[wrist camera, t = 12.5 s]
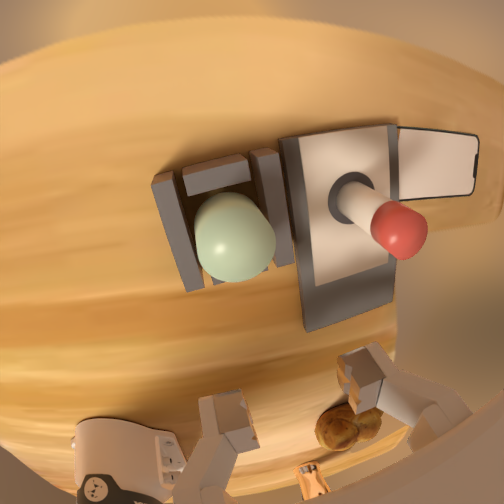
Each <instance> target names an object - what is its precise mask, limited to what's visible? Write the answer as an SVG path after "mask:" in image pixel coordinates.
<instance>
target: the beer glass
mask: <svg viewBox="0 0 504 504" xmlns="http://www.w3.org/2000/svg"><path fill="white" fill-rule="evenodd" d="M293 473H294V474H295V476H296V477H297V479H298V481H299V484H300V488H301V493H302V501H304V500H308V499H311V498H314V497H317V496H320V495H322V494H325V493H328V492H331V491H332V490H331V489H330V487H329V486H328V484H327V483H326V481H325V480H324V478H323V476H322V474H321V471H320V465H319V462H317V461H311V462H307V463H304V464H301V465H299V466H297V467H296V468H295V469H294V470H293Z"/></svg>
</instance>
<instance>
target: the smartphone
mask: <svg viewBox="0 0 504 504" xmlns="http://www.w3.org/2000/svg"><path fill="white" fill-rule="evenodd" d="M397 128H398V129H401V130H400V135H399V139H398V156H399V202H401V201H412V200H423V199H435V198H448V197H449V198H450V197H462V196H470V195H471V194H472V193H473V192H474V189H475V182H476V175H477V166H478V157H479V145H480V142H479V138H478V136H477V135H474V134H468V133H461V132H454V131H446V130H438V129H428V128H417V127H403V126H397Z"/></svg>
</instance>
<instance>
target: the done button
mask: <svg viewBox="0 0 504 504" xmlns="http://www.w3.org/2000/svg"><path fill="white" fill-rule="evenodd" d="M194 231H195V239H196V247H197V254H198V259H199V261H200V264H201V265H202V267H203V268H204V270H205V271H206V272H207V273H208V274H210V275H211V276H212V277H214V278H216V279H218V280H221V281H225V282H241V281H246V280H249V279H251V278H253V277H255V276H257V275H258V274H260V273H261V272H262V271H263V270H264V269H265V268H266V267H267V266H268V265H269V263H270V262H271V260H272V258H273V256H274V253H275V249H276V237H275V233H274V231H273V228H272V227H271V225H270V224H269V222H268V221H267V220H266V218H265V217H264V215H263V214H262V213H261V211H260V210H259V209H258V207H257V206H256V204H255V203H254V202H253V201H252V200H251V199H250V198H248V197H247V196H245V195H243V194H240V193H237V192H222V193H218V194H216V195H214V196H212V197H210V198H208V199H207V200H206V201H205V202H204V203H203V204H202V205H201V206H200V208H199V209H198V211H197V213H196V216H195V220H194Z"/></svg>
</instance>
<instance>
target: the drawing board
mask: <svg viewBox="0 0 504 504" xmlns="http://www.w3.org/2000/svg"><path fill="white" fill-rule="evenodd" d="M278 140H279V146H280V152H281V158H282V165H283V171H284V177H285V184H286V190H287V197H288V204H289V211H290V218H291V225H292V232H293V240H294V247H295V255H296V263H297V271H298V280H299V288H300V297H301V306H302V315H303V324H304V328H305V330H306V332H307V333H308V332H311V331H314V330H317V329H320V328H323V327H326V326H329V325H332V324H335V323H337V322H340V321H343V320H346V319H348V318H351V317H354V316H356V315H359V314H362V313H364V312H367V311H370V310H372V309H375V308H377V307H380V306H382V305H385V304H387V303H390V302H392V299H393V291H394V282H395V271H396V259H397V258H395V257H394V256H393V255H392V254H390V253H389V252H388V251H387V250H386V249H384V248H383V247H382V246H381V245H379V244H378V243H377V242H376V241H375V240H374V239H373V238H372V236H370V235H369V234H368V233H367V232H365V231H364V230H363V229H361V228H360V227H359V226H358V225H356V224H355V223H354V222H352V221H351V220H350V219H348V218H347V217H346V216H344V215H343V214H342V213H341V212H340V211H339V210H338V207H337V195H338V193H339V191H340V189H341V188H342V187H343V186H344V185H345V184H347V183H349V182H352V181H357V182H360V183H362V184H364V185H366V186H368V187H370V188H371V189H373V190H375V191H377V192H379V193H381V194H383V195H384V196H386V197H388V198H390V199H392V200H393V201H398V202H399V156H398V136H397V125H396V124H391V123H389V124H378V125H368V126H360V127H351V128H343V129H336V130H329V131H322V132H316V133H309V134H303V135H297V136H292V137H286V138H281V139H278Z"/></svg>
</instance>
